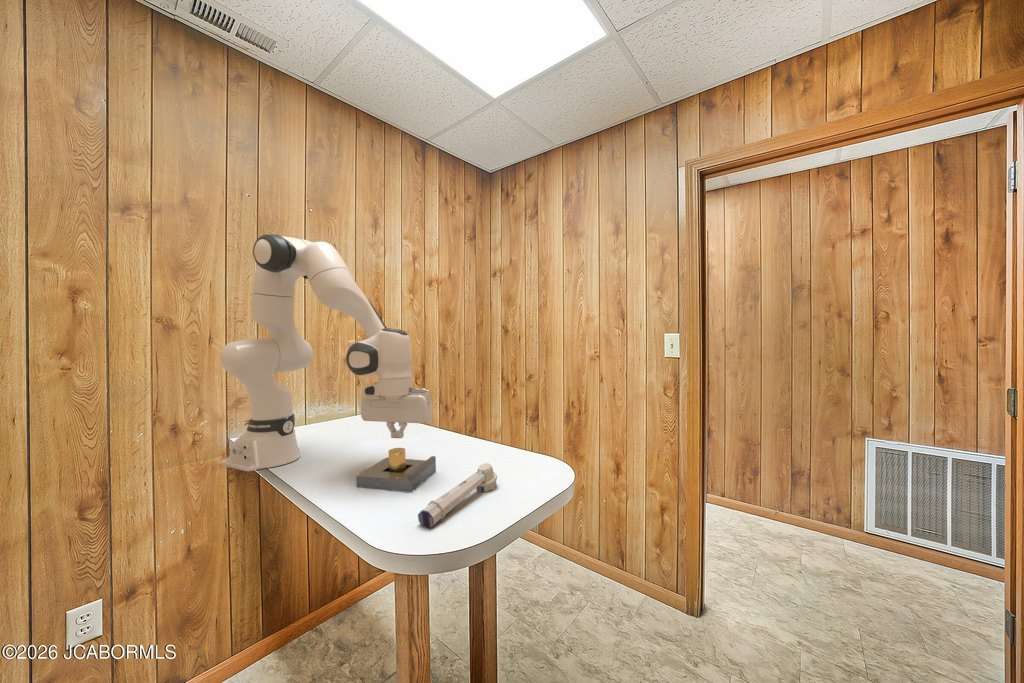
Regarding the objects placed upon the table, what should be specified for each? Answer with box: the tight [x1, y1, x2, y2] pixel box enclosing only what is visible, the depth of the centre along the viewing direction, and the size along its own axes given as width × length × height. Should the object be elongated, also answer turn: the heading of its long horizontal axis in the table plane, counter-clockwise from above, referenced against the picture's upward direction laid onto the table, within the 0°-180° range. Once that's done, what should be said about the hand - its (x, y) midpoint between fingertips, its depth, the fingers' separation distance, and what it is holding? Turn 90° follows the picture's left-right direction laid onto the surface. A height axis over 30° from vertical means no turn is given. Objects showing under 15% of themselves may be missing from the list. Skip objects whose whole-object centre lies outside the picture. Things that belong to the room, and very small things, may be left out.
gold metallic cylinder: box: [388, 447, 407, 473], centre depth 101 cm, size 4×4×8 cm
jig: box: [355, 455, 437, 493], centre depth 101 cm, size 16×14×4 cm
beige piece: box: [417, 462, 498, 529], centre depth 87 cm, size 5×7×25 cm
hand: (397, 437), depth 101 cm, fingers closed
